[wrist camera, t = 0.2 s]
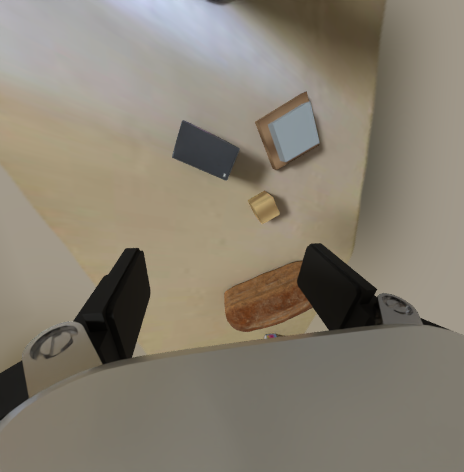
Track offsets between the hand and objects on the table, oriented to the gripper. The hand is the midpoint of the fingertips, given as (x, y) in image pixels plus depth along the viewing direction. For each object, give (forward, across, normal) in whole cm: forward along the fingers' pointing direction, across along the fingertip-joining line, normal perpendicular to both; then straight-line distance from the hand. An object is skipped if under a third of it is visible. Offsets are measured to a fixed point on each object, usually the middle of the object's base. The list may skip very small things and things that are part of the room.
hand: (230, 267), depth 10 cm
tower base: (+37, -18, -9) cm, 43 cm away
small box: (+37, 0, -5) cm, 37 cm away
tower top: (+34, -18, -9) cm, 40 cm away
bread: (+37, -21, +36) cm, 56 cm away
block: (+37, -15, +7) cm, 40 cm away
